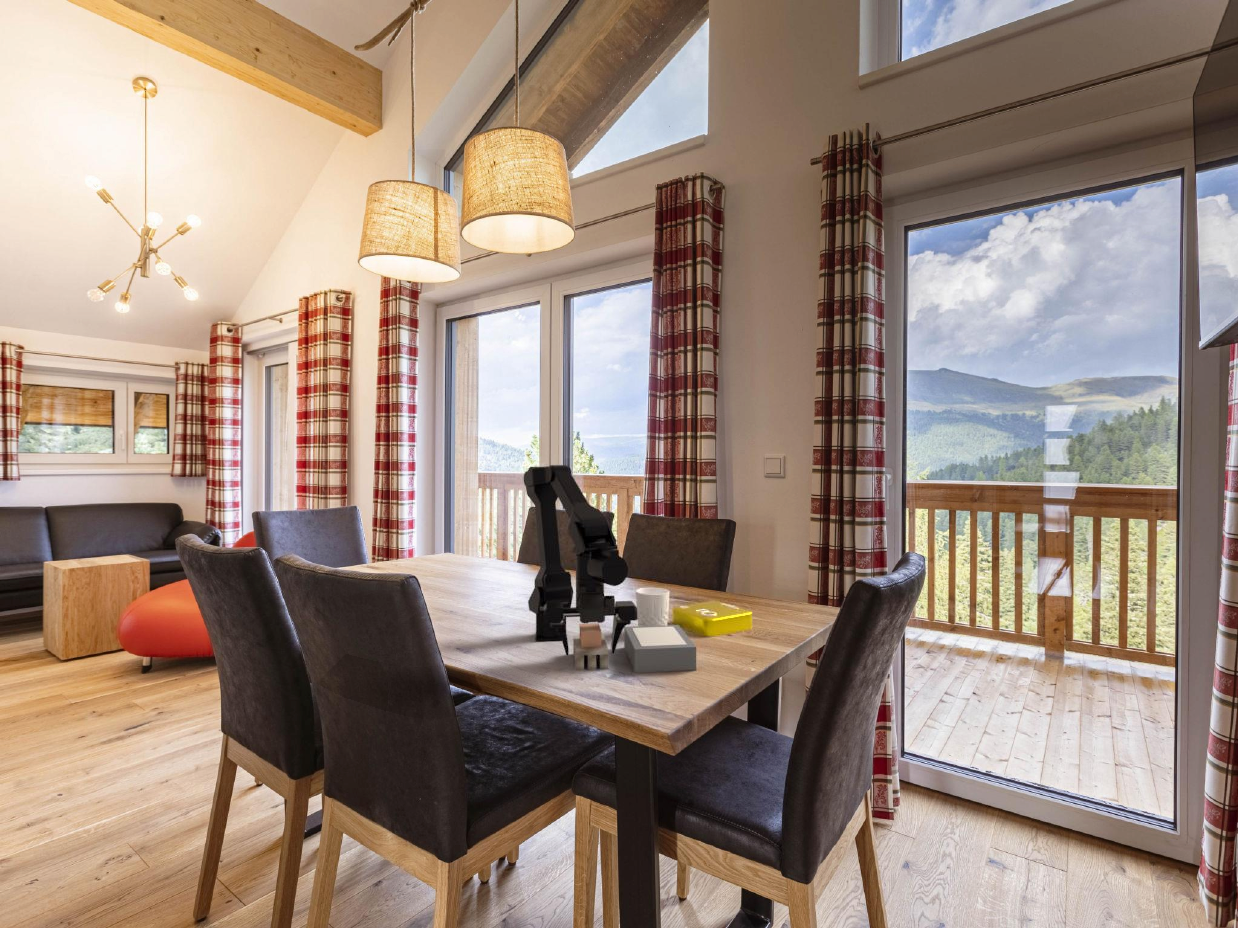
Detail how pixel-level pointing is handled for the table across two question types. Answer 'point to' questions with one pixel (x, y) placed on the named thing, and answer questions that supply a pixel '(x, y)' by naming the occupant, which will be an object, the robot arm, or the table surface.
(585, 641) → the orange block
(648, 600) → the white cup
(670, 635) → the dock
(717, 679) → the table surface
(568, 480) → the robot arm
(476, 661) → the table surface
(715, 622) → the element tile
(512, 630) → the table surface
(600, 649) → the grey slotted block
